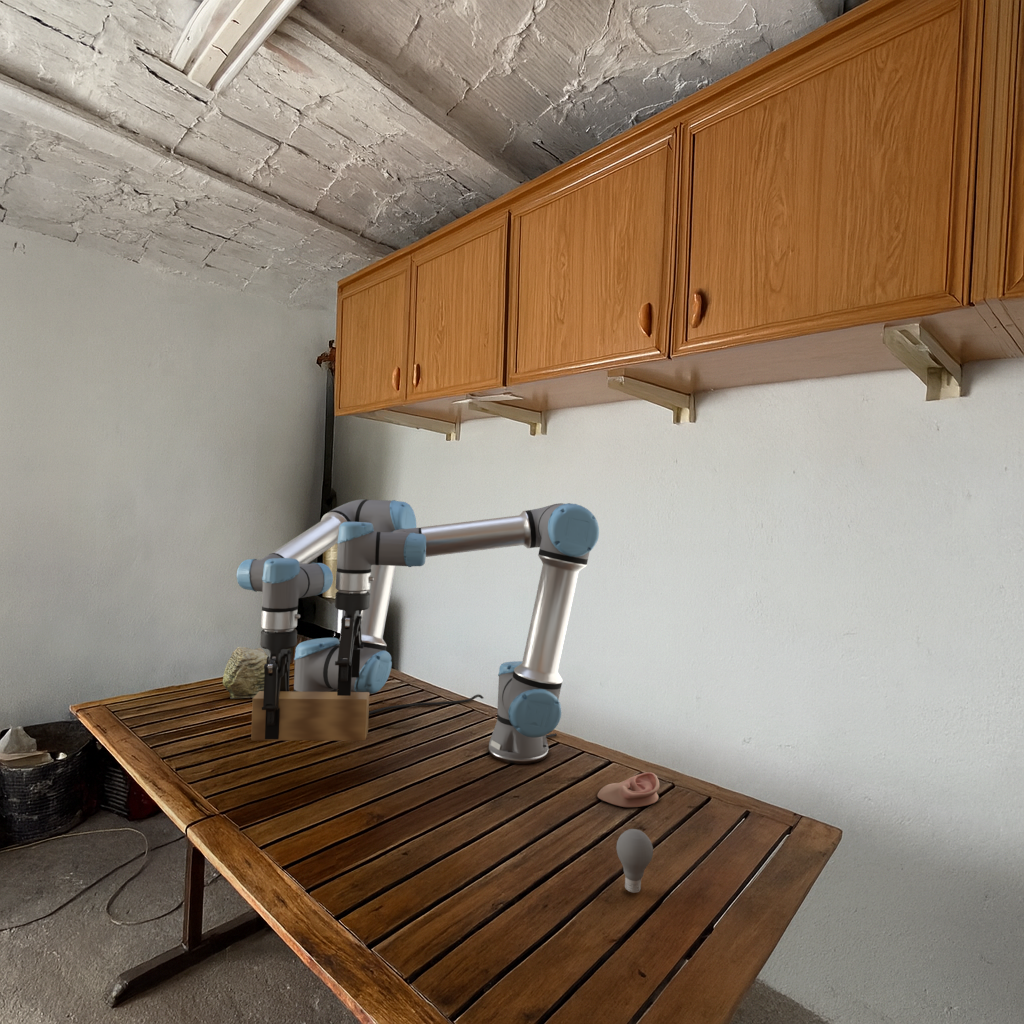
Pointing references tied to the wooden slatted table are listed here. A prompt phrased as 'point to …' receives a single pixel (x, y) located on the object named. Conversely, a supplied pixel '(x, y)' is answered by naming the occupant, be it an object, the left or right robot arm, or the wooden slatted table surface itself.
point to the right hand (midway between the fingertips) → (348, 685)
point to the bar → (315, 716)
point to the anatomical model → (632, 791)
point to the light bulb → (634, 857)
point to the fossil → (245, 672)
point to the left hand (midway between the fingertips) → (275, 733)
